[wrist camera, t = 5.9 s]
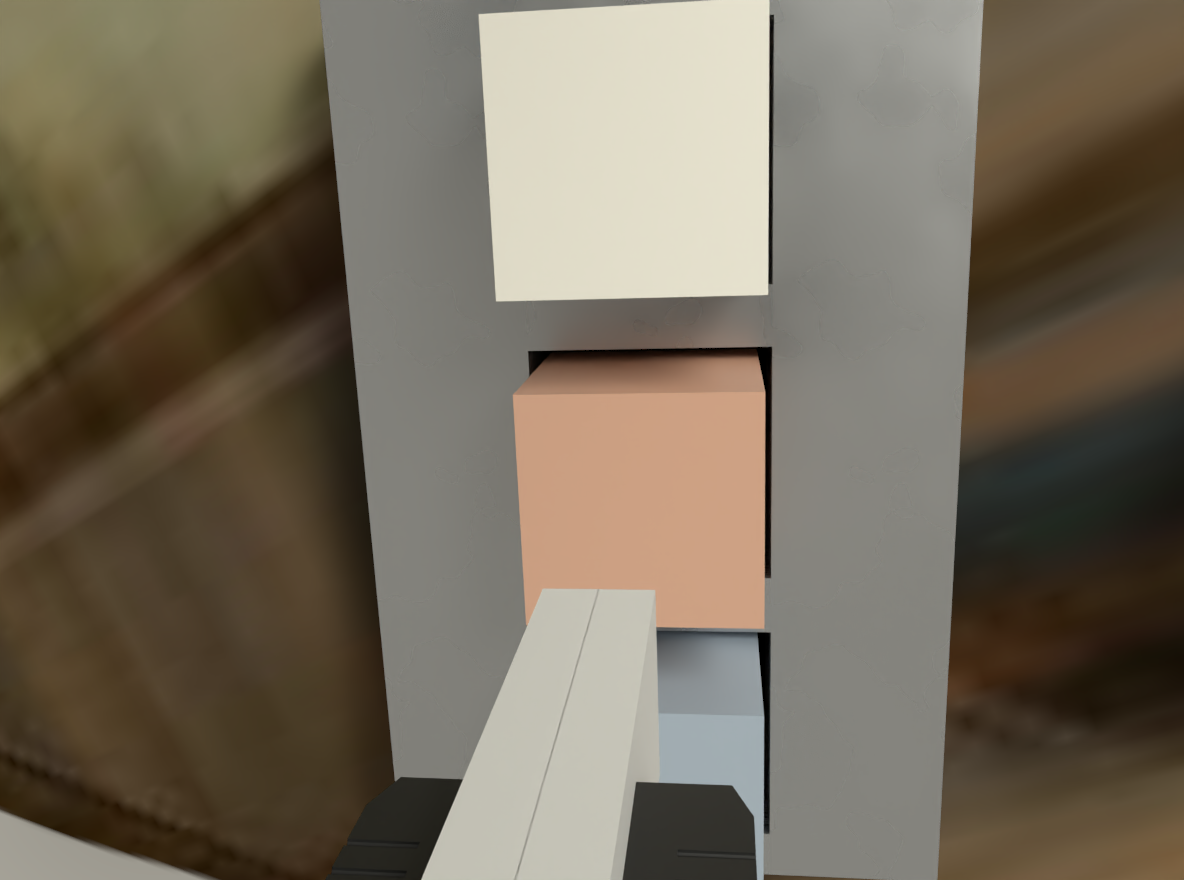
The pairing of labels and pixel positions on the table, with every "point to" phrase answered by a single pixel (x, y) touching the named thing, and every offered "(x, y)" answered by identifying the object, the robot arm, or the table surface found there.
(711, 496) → the terracotta key
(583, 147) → the cream cube
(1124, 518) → the table surface
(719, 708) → the slate key
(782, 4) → the grey slotted board
